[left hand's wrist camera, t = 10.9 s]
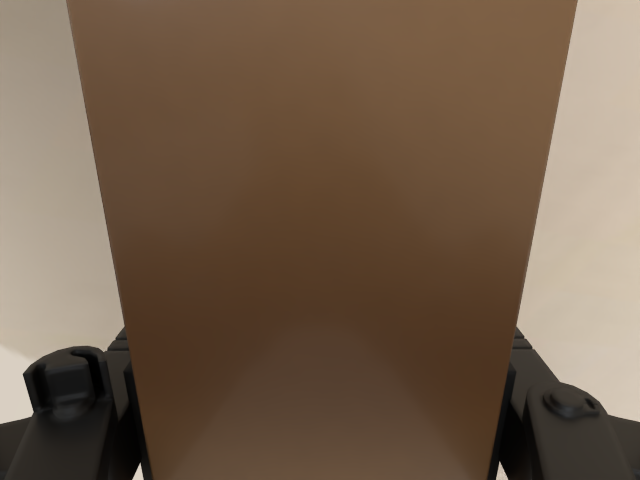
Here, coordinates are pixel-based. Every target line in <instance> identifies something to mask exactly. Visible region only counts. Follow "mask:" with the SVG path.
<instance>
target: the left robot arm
mask: <svg viewBox="0 0 640 480" xmlns="http://www.w3.org/2000/svg"><path fill="white" fill-rule="evenodd" d="M23 377H24V380H25V384H26V387H27V390H28V394H29V397H30V401H31V404H32V408H33V411H34V413H33V415H32V417H29V418H25V419H21V420H17V421H12V422H7V423H3V424H0V480H132V479H133V477H134V475H135V473H136V470H137V468H138V466H139V464H140V463H141V468H142V473H143V478H144V480H152V475H151V469H150V464H149V458H148V452H147V447H146V441H145V436H144V430H143V425H142V419H141V413H140V408H139V402H138V397H137V391H136V386H135V380H134V375H133V369H132V363H131V358H130V352H129V347H128V341H127V336H126V330H125V327H124V328H123V329H122V330H121V332H120V333H119V334H118V336H117V337H116V340H114V341H113V342H112V343H111V345H110V346H109V347H108V350H107V351H105V352H103V351H101V350H100V349H99V348H95V347H91V346H75V347H70V348H65V349H61V350H57V351H55V352H53V353H50V354H48V355H46V356H43V357H42V358H40V359H39V360H37V361H36V362H34V363H33V364H31V365H30V366H29V367H28V369H27V370H26V371H25V372H24V373H23ZM499 461H500V463H501V465H502V467H503V469H504V471H505V473H506V475H507V478H508V480H640V422H637V421H632V420H628V419H623V418H618V417H615V416H611V415H608V414H607V412H606V410H605V409H604V408H603V406H602V405H601V404H600V402H599V401H598V400H596V399H595V398H594V397H592V396H591V395H590V394H589V393H587V392H585V391H583V390H581V389H579V388H577V387H575V386H572V385H569V384H565V383H561V382H559V380H558V379H557V378H556V376H555V375H554V374H553V373H552V371H551V370H550V369H549V367H548V366H547V365H546V364H545V362H544V361H543V360H542V358H541V357H540V356H539V355H538V353H537V352H536V351H535V350H534V349H532V346H531V344H530V343H529V342H528V341H527V339H524V335H523V334H522V333H521V332H520V330H519V329H518V328H517V326H516V330H515V335H514V340H513V346H512V351H511V356H510V362H509V367H508V372H507V378H506V383H505V388H504V393H503V399H502V404H501V409H500V415H499V420H498V425H497V431H496V436H495V441H494V447H493V452H492V457H491V462H490V468H489V473H488V478H487V480H496V477H497V471H498V466H499Z"/></svg>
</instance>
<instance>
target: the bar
mask: <svg viewBox="0 0 640 480" xmlns="http://www.w3.org/2000/svg"><path fill="white" fill-rule="evenodd" d="M577 1H578V0H66V2H67V7H68V13H69V19H70V24H71V30H72V35H73V41H74V46H75V52H76V57H77V63H78V69H79V74H80V80H81V85H82V91H83V96H84V102H85V108H86V113H87V119H88V124H89V130H90V135H91V141H92V146H93V152H94V158H95V163H96V169H97V174H98V180H99V185H100V191H101V197H102V202H103V208H104V213H105V219H106V224H107V230H108V235H109V241H110V247H111V252H112V258H113V263H114V269H115V274H116V280H117V286H118V291H119V297H120V302H121V308H122V313H123V319H124V324H125V330H126V336H127V341H128V347H129V352H130V358H131V363H132V369H133V375H134V380H135V386H136V391H137V397H138V402H139V408H140V413H141V419H142V425H143V430H144V436H145V441H146V447H147V452H148V458H149V464H150V469H151V475H152V480H487V478H488V473H489V468H490V462H491V457H492V452H493V447H494V441H495V436H496V431H497V425H498V420H499V415H500V409H501V404H502V399H503V393H504V388H505V383H506V378H507V372H508V367H509V362H510V356H511V351H512V346H513V340H514V335H515V330H516V324H517V319H518V314H519V309H520V303H521V298H522V293H523V287H524V282H525V277H526V271H527V266H528V261H529V256H530V250H531V245H532V240H533V234H534V229H535V224H536V218H537V213H538V208H539V202H540V197H541V192H542V187H543V181H544V176H545V171H546V165H547V160H548V155H549V149H550V144H551V139H552V133H553V128H554V123H555V118H556V112H557V107H558V102H559V96H560V91H561V86H562V80H563V75H564V70H565V65H566V59H567V54H568V49H569V43H570V38H571V33H572V27H573V22H574V17H575V11H576V6H577Z"/></svg>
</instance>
